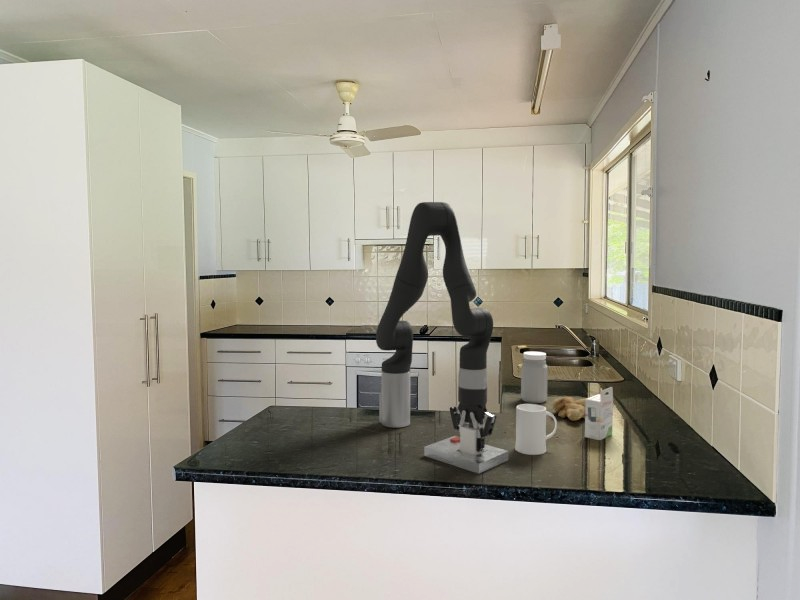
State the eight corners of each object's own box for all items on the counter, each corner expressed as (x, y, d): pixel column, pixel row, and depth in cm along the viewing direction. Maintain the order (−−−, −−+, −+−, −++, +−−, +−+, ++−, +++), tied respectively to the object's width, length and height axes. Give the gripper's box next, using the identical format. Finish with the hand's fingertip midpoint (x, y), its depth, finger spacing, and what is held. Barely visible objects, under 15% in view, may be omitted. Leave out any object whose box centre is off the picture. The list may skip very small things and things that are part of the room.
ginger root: (566, 403, 199) (570, 383, 196) (602, 424, 186) (608, 403, 184) (535, 411, 190) (539, 390, 188) (571, 434, 178) (576, 411, 175)
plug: (459, 456, 146) (460, 417, 145) (470, 452, 149) (470, 414, 148) (473, 460, 143) (474, 421, 142) (483, 456, 146) (484, 417, 145)
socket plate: (424, 455, 149) (424, 444, 149) (454, 444, 158) (454, 433, 158) (479, 473, 136) (479, 461, 136) (508, 460, 146) (508, 448, 145)
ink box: (597, 431, 171) (598, 383, 170) (612, 434, 167) (614, 386, 166) (583, 437, 165) (584, 388, 164) (599, 441, 161) (601, 391, 160)
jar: (552, 401, 207) (553, 353, 206) (534, 405, 202) (535, 356, 200) (532, 396, 215) (533, 350, 214) (515, 399, 210) (515, 352, 208)
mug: (552, 444, 158) (553, 403, 158) (562, 454, 150) (563, 411, 149) (511, 444, 158) (512, 403, 157) (519, 455, 149) (519, 411, 149)
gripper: (442, 382, 147) (441, 445, 148) (486, 391, 137) (486, 459, 138) (459, 378, 152) (459, 439, 153) (503, 386, 142) (502, 451, 143)
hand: (471, 448), depth 146 cm, fingers closed on plug, 4 cm apart
